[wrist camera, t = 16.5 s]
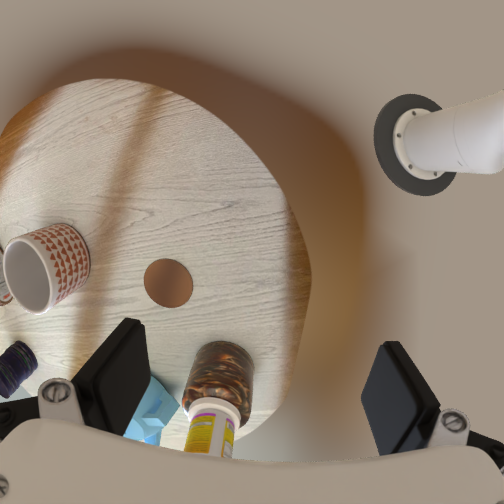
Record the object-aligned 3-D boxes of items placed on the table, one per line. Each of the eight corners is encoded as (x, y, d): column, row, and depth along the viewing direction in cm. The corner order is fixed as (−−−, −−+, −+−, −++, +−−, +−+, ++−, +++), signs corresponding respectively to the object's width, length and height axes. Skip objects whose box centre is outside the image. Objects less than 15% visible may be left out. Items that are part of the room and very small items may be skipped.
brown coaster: (194, 262, 47) (193, 262, 47) (192, 310, 49) (191, 311, 49) (144, 255, 47) (143, 256, 47) (145, 302, 50) (144, 303, 49)
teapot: (98, 393, 57) (75, 429, 44) (110, 342, 53) (79, 381, 39) (167, 427, 59) (153, 469, 46) (191, 383, 54) (176, 431, 41)
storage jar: (11, 335, 55) (-20, 361, 41) (34, 348, 55) (2, 377, 41) (18, 361, 58) (-9, 388, 43) (40, 374, 58) (13, 404, 43)
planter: (68, 300, 50) (32, 327, 38) (34, 249, 48) (-6, 266, 36) (103, 265, 48) (64, 290, 36) (64, 208, 45) (20, 220, 33)
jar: (184, 367, 53) (164, 420, 39) (215, 330, 50) (199, 383, 36) (232, 395, 55) (225, 449, 40) (266, 361, 52) (267, 418, 37)
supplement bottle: (186, 422, 38) (168, 486, 26) (203, 401, 37) (186, 471, 24) (223, 438, 39) (213, 501, 27) (243, 418, 38) (237, 488, 25)
